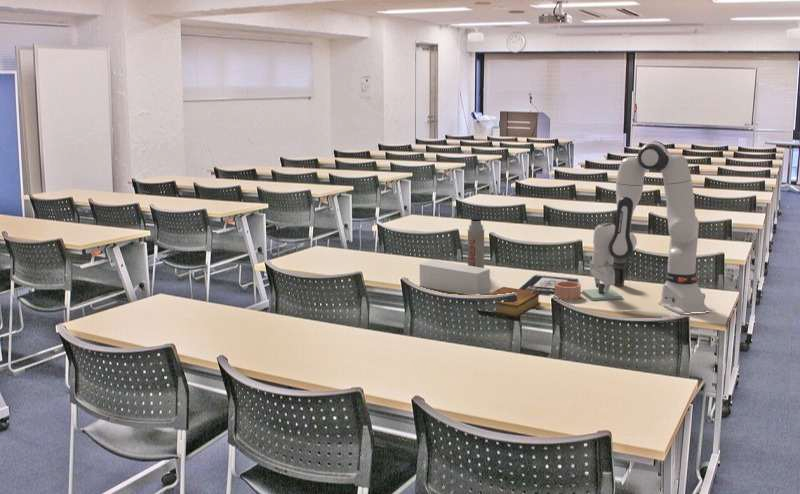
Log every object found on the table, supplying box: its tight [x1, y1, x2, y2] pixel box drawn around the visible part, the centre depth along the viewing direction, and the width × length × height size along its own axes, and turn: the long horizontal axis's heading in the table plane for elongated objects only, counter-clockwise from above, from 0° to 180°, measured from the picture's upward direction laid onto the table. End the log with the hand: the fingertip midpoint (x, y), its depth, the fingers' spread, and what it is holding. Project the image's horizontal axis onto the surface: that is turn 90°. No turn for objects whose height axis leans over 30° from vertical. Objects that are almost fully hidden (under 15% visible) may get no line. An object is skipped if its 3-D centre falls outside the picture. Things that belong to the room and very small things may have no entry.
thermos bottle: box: [467, 217, 485, 268], centre depth 403 cm, size 8×8×28 cm
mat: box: [581, 291, 625, 302], centre depth 362 cm, size 15×15×1 cm
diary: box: [487, 286, 541, 318], centre depth 349 cm, size 23×19×6 cm
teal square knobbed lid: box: [581, 282, 623, 301], centre depth 362 cm, size 13×13×5 cm
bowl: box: [553, 281, 582, 301], centre depth 362 cm, size 11×11×6 cm
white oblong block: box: [419, 259, 491, 295], centre depth 379 cm, size 32×11×11 cm, turn 52°
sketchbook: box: [518, 274, 579, 297], centre depth 381 cm, size 22×30×2 cm
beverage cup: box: [612, 257, 629, 287], centre depth 377 cm, size 7×7×20 cm
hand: (601, 290), depth 362 cm, fingers open, 8 cm apart
